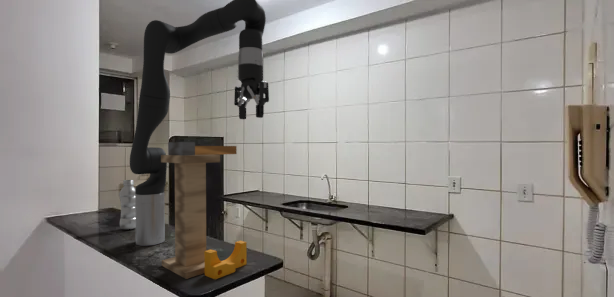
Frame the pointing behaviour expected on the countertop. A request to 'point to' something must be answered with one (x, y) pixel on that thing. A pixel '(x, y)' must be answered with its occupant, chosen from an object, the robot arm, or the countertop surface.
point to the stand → (189, 213)
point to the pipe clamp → (225, 261)
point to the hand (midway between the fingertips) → (250, 118)
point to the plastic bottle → (128, 205)
